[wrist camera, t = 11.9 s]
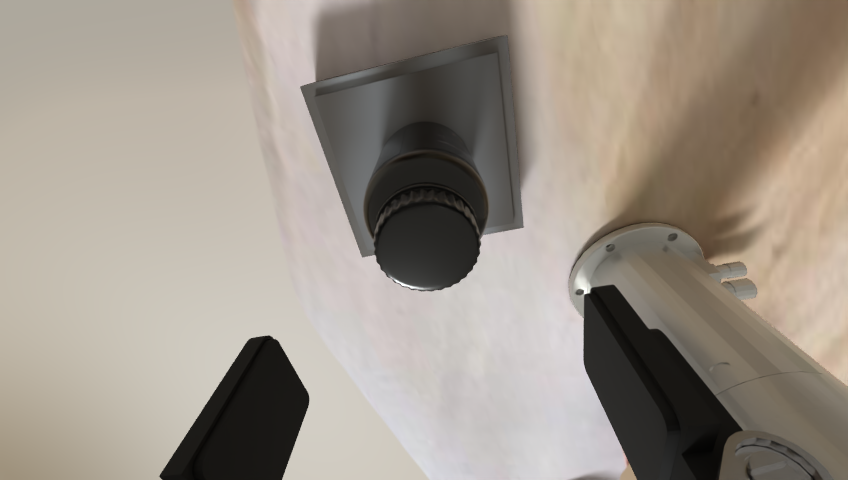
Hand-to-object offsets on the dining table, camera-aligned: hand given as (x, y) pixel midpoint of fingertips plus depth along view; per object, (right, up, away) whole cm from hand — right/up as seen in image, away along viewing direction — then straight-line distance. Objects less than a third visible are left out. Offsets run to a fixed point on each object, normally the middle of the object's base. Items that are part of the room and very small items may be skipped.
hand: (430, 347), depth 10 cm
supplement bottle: (0, +9, +15) cm, 18 cm away
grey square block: (0, +11, +18) cm, 21 cm away
